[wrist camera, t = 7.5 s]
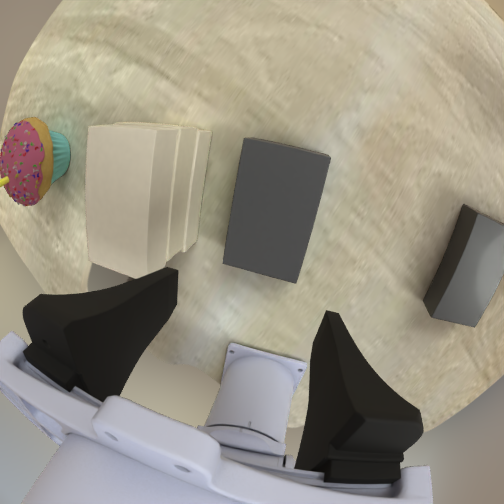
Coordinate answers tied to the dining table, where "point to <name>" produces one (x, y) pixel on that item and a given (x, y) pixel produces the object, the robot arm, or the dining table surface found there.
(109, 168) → the cream book
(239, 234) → the grey book
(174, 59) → the dining table surface
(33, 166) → the cupcake
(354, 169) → the dining table surface
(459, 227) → the grey book
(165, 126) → the cream stack
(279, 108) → the dining table surface
